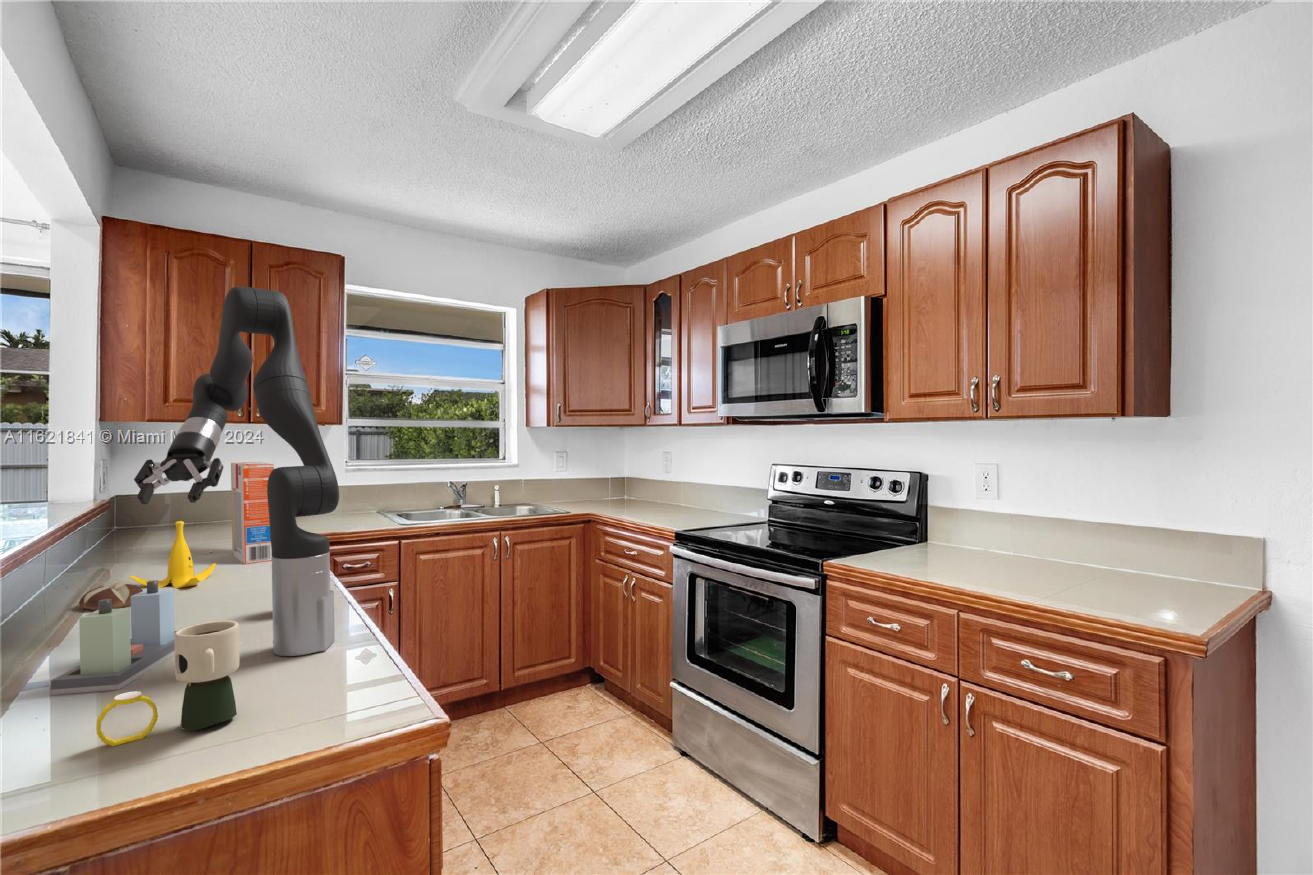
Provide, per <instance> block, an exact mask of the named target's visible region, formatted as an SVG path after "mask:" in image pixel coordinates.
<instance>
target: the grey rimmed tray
mask: <svg viewBox="0 0 1313 875" xmlns="http://www.w3.org/2000/svg"><path fill="white" fill-rule="evenodd" d="M176 631H177V630H174V633H175V632H176ZM173 656H175V640H172V641H170V642H169V643H167V644H165V645H150V646H143V644H140V645H132V641H131V665H129V666H128V667H126V668H124V669H122V670H121V671H119V672H109V673H95V674H82V675H80V665H78V666H76V667H73V668H72V669H70V670H68V671H66V672H65V673H63V674H60V675H58V676H56V677H55V678H53V679H51V680H50V696H56V695H58V696H59V695H68V694H80V693H83V694H84V693H93V692H94V693H95V692H105V691H119V690H121V689H122V688H125V686H127V685H129V684H131V683H132V682H134V681H135V680H137V679H138V678H140V677H141V676H143V675H145V674H146V673H148V672H150V671H151V670H152V669H153V670H154V669H155V668H156V667H157V666H159V665H161V664H162V663H164V662H166V661H167V660H169V659H171V658H172V657H173Z"/></svg>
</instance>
